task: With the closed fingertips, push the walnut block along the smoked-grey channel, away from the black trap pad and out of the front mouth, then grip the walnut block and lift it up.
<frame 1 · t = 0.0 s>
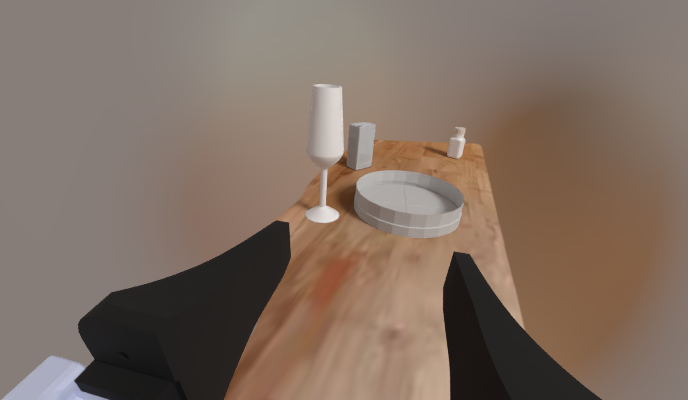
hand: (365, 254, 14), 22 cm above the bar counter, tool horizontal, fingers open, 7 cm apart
dish: (405, 211, 66), on the bar counter
champagne flute: (322, 215, 62), on the bar counter
skincare box: (358, 167, 88), on the bar counter
pepper shaker: (453, 157, 102), on the bar counter
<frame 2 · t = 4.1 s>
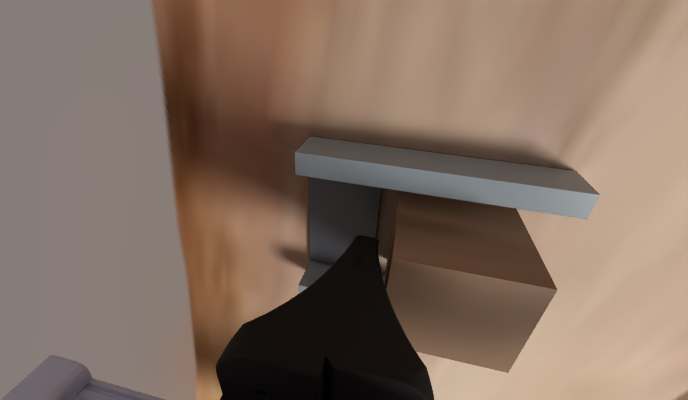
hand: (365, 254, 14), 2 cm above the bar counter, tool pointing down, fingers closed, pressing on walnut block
walnut block: (444, 235, 15), on the bar counter, touching gripper
acrylic channel: (416, 232, 15), on the bar counter
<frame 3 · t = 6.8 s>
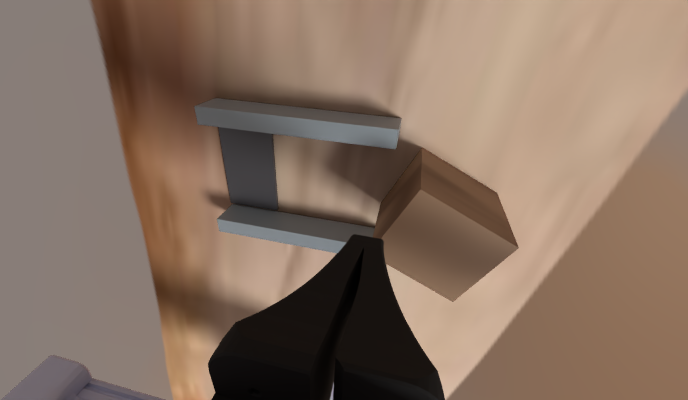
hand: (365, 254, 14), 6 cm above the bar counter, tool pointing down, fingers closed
walnut block: (435, 197, 19), on the bar counter
acrylic channel: (304, 174, 20), on the bar counter
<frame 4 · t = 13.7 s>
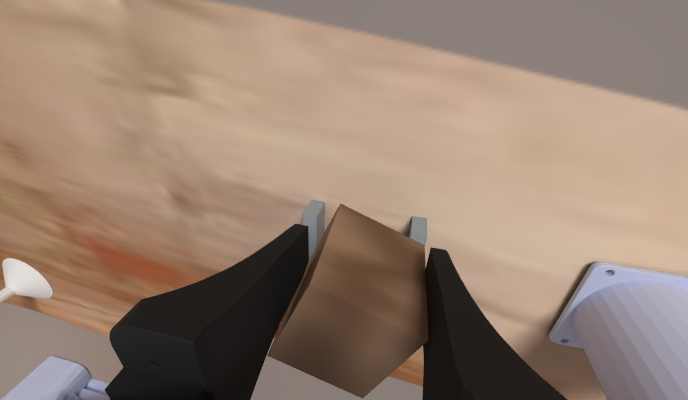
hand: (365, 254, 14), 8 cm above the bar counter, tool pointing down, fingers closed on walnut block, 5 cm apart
champagne flute: (29, 278, 39), on the bar counter
walnut block: (359, 258, 16), point 7 cm above the bar counter, touching gripper
acrylic channel: (361, 266, 25), on the bar counter
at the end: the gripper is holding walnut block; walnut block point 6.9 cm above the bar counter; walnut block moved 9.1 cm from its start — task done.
